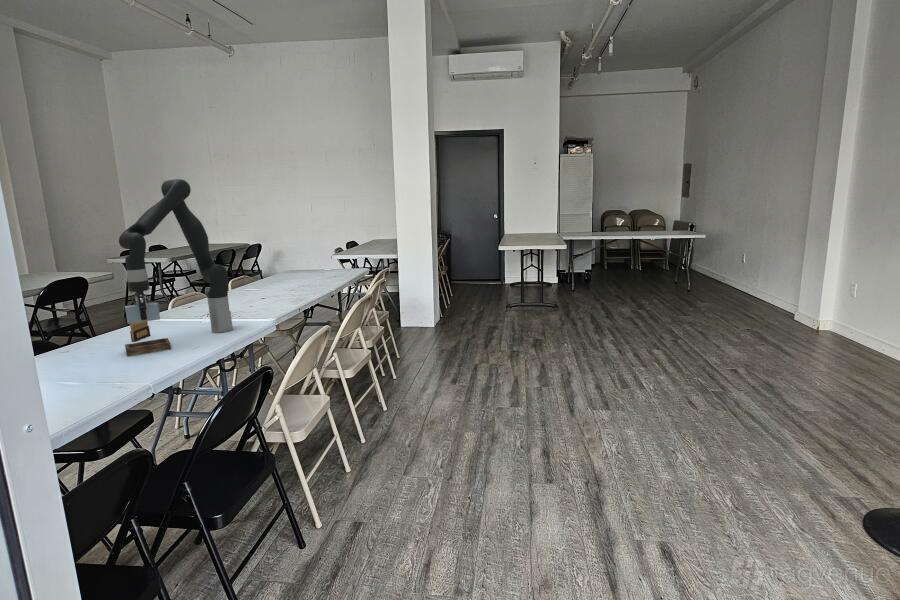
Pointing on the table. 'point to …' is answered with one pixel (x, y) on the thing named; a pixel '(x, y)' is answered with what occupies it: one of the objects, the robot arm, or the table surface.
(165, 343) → the cradle jig
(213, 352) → the table surface
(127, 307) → the long grey rectangular block
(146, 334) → the ammunition clip
